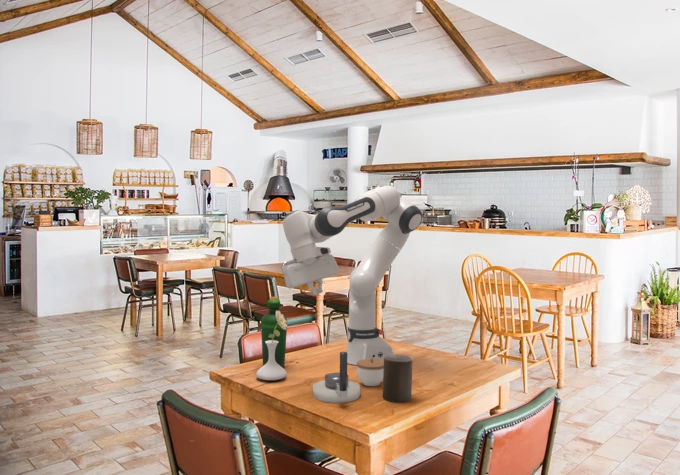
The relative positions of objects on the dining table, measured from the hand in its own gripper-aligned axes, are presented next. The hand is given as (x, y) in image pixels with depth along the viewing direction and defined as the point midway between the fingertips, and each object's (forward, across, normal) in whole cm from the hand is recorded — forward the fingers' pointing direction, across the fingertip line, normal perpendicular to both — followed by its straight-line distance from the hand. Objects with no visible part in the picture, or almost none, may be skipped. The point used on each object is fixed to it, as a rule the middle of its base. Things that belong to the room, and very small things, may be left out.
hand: (318, 293), depth 201 cm
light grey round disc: (+34, -4, +3) cm, 35 cm away
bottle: (+21, -7, +42) cm, 48 cm away
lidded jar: (+37, +13, +8) cm, 40 cm away
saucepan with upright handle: (+32, -6, -2) cm, 33 cm away
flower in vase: (+24, -13, +30) cm, 40 cm away
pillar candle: (+42, +11, -8) cm, 44 cm away
